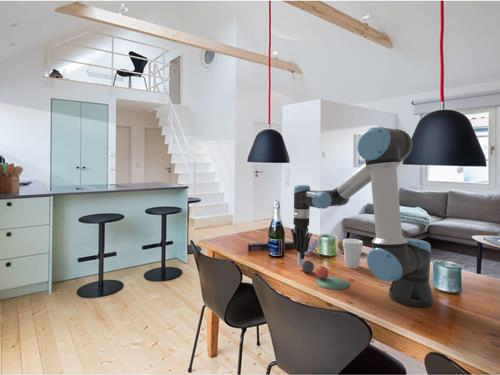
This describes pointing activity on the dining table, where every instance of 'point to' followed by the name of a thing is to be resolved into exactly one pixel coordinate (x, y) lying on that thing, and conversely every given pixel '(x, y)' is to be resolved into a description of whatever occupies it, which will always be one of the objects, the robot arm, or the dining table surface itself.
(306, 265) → the dark gray ball
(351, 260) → the foam cup
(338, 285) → the green mark
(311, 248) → the water lily
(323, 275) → the red ball
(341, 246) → the potato
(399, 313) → the dining table surface
